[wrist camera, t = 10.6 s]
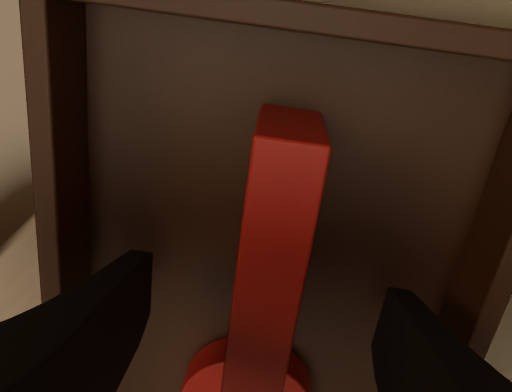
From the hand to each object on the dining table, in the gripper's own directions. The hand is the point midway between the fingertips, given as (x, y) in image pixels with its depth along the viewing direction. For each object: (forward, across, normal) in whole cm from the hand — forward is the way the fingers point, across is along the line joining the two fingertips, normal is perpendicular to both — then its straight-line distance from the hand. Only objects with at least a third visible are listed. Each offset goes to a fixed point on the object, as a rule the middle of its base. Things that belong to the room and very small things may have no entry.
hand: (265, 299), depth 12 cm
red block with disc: (+2, 0, +1) cm, 2 cm away
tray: (+2, 0, +1) cm, 2 cm away
